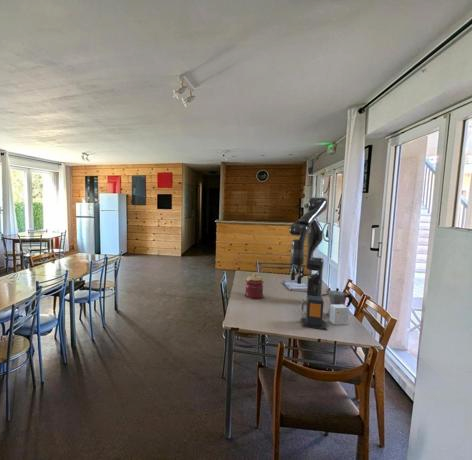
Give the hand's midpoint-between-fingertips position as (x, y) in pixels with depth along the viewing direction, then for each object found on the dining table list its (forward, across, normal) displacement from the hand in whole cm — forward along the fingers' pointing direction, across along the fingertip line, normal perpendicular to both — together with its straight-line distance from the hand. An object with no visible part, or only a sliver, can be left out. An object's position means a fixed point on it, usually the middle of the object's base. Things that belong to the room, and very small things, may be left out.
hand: (295, 281), depth 182 cm
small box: (+22, -11, -22) cm, 33 cm away
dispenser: (+22, -13, -6) cm, 26 cm away
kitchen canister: (+22, +38, +14) cm, 46 cm away
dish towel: (+21, +63, -30) cm, 73 cm away
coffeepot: (+22, -1, -28) cm, 35 cm away
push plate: (+14, -10, 0) cm, 17 cm away
